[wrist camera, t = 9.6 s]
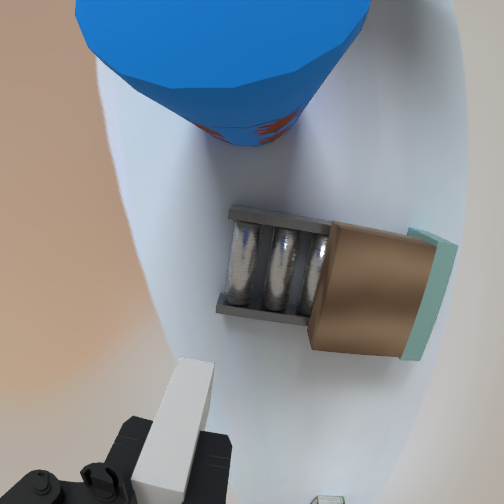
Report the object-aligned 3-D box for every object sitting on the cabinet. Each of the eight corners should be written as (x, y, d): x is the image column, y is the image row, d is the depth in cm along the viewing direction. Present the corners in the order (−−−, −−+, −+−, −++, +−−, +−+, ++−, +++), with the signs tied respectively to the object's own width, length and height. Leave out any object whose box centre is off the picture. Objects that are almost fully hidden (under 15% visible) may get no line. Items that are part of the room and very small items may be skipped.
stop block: (409, 227, 34) (438, 241, 27) (427, 231, 34) (458, 245, 27) (380, 330, 37) (400, 359, 31) (398, 331, 37) (419, 360, 31)
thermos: (318, 122, 32) (437, 32, 7) (226, 166, 33) (134, 163, 9) (271, 38, 29) (280, -138, 5) (181, 80, 31) (49, -41, 7)
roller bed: (232, 204, 34) (229, 208, 31) (407, 236, 34) (418, 242, 31) (219, 301, 37) (215, 312, 34) (383, 323, 37) (391, 334, 34)
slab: (332, 220, 31) (341, 228, 27) (419, 238, 31) (436, 247, 27) (307, 330, 34) (311, 349, 30) (389, 339, 34) (401, 357, 30)
